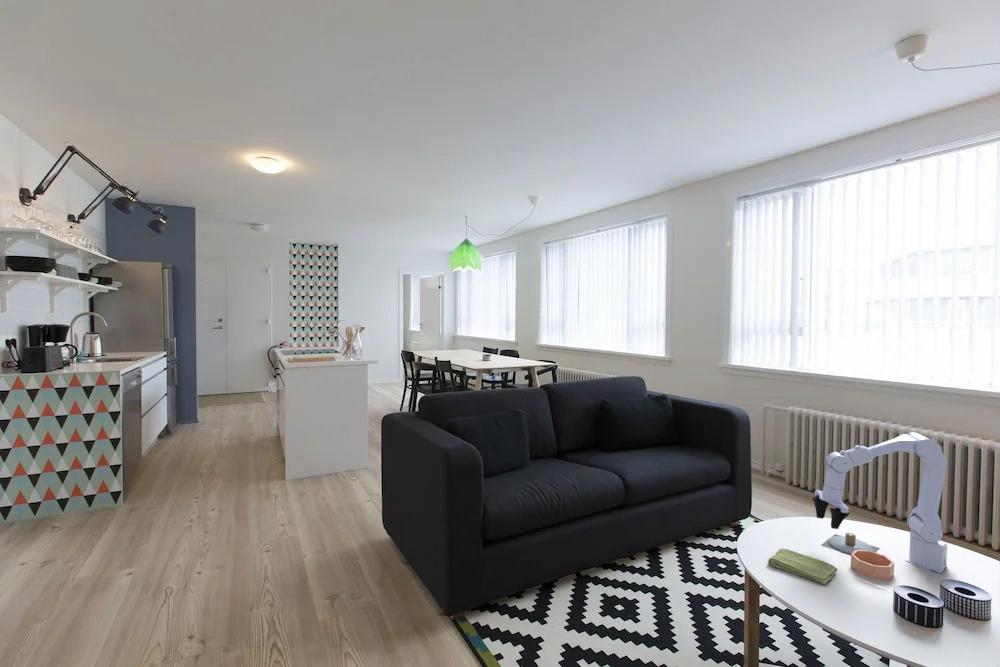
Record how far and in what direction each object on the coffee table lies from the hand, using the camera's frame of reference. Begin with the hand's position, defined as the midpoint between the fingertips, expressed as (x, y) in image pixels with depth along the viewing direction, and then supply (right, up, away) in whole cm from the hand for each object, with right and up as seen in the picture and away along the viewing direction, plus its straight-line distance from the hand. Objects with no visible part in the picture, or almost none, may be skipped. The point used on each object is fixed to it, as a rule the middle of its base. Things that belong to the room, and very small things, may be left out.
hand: (827, 523), depth 175 cm
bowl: (+6, -11, -13) cm, 18 cm away
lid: (+10, -10, +3) cm, 14 cm away
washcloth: (-16, -12, -11) cm, 22 cm away
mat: (+10, -10, +3) cm, 15 cm away
